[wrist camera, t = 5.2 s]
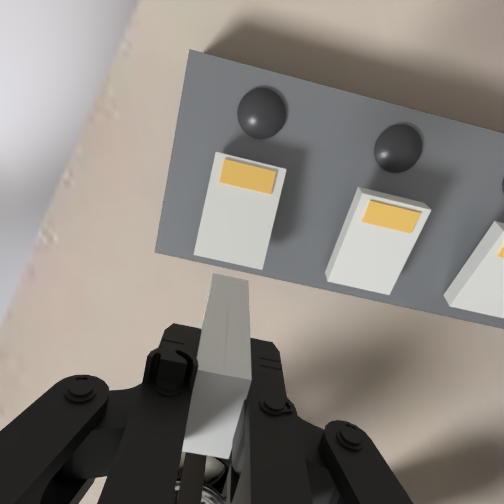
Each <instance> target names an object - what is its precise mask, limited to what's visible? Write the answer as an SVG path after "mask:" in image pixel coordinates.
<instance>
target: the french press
mask: <svg viewBox="0 0 504 504" xmlns="http://www.w3.org/2000/svg"><path fill="white" fill-rule="evenodd" d="M206 456H207V455H201V454H195V453H190V452H186V454H185V460H184V465H183V471H182V476H181V478H177V481H176V487H175V492H174V498H173V504H226V497H227V493H226V497H222V492H223V489H224V485H225V482H226V479H227V475H228V472H229V468H230V465H231V462H232V449H231V453H230V456H229V459H225V458H219V457H215V458H216V459H217V460H219V461H220V462H222V463H223V464H224V465H225V468H224V471H223V472H222V474H221V475H220V476H219V477H218V478H217V479H216V480H214V481H213V482H211V483H209V484H206V483H204V473H205V464H206Z"/></svg>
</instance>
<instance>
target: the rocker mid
mask: <svg viewBox="0 0 504 504" xmlns="http://www.w3.org/2000/svg"><path fill="white" fill-rule="evenodd" d="M430 212H431V209H430V208H429V207H428V206H427V205H426V204H425V203H423V202H419V201H415V200H411V199H407V198H403V197H399V196H395V195H390V194H386V193H382V192H378V191H374V190H370V189H366V188H362V187H358V188H357V191H356V193H355V196H354V198H353V201H352V204H351V206H350V209H349V211H348V214H347V217H346V219H345V222H344V224H343V227H342V229H341V232H340V235H339V237H338V240H337V242H336V245H335V248H334V250H333V253H332V255H331V258H330V260H329V263H328V266H327V268H326V271H325V274H326V278H327V281H328V282H332V283H337V284H341V285H346V286H350V287H355V288H359V289H364V290H368V291H373V292H377V293H382V294H386V295H390V293H391V291H392V289H393V287H394V285H395V283H396V281H397V279H398V277H399V275H400V273H401V271H402V269H403V267H404V264H405V262H406V260H407V258H408V256H409V254H410V252H411V250H412V248H413V246H414V244H415V242H416V240H417V238H418V236H419V234H420V232H421V230H422V228H423V226H424V224H425V222H426V220H427V218H428V216H429V214H430Z"/></svg>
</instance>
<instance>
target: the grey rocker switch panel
mask: <svg viewBox="0 0 504 504" xmlns="http://www.w3.org/2000/svg"><path fill="white" fill-rule="evenodd" d="M216 152H219V153H223V154H227V155H231V156H235V157H239V158H243V159H247V160H251V161H256V162H260V163H264V164H268V165H272V166H276V167H280V168H284V169H287V170H286V174H285V178H284V182H283V186H282V190H281V195H280V199H279V203H278V207H277V211H276V215H275V219H274V224H273V228H272V232H271V236H270V240H269V244H268V248H267V252H266V257H265V261H264V265H263V269H262V270H260V269H256V268H251V267H246V266H242V265H237V264H233V263H228V262H224V261H219V260H215V259H210V258H206V257H201V256H197V255H194V250H195V245H196V241H197V236H198V231H199V227H200V222H201V218H202V213H203V208H204V204H205V199H206V194H207V190H208V185H209V181H210V176H211V171H212V167H213V162H214V157H215V153H216ZM358 187H362V188H366V189H370V190H374V191H378V192H382V193H386V194H390V195H395V196H399V197H403V198H407V199H411V200H415V201H419V202H423V203H425V204H426V205H427V206H428V207H429V208H430V209H431V212H430V214H429V216H428V218H427V220H426V222H425V224H424V226H423V228H422V230H421V232H420V234H419V236H418V238H417V240H416V242H415V244H414V246H413V248H412V250H411V252H410V254H409V256H408V258H407V260H406V262H405V264H404V267H403V269H402V271H401V273H400V275H399V277H398V279H397V281H396V283H395V285H394V287H393V289H392V291H391V293H390V295H386V294H382V293H377V292H373V291H368V290H364V289H359V288H355V287H350V286H346V285H341V284H337V283H332V282H328V281H327V278H326V274H325V271H326V268H327V266H328V263H329V260H330V258H331V255H332V253H333V250H334V248H335V245H336V242H337V240H338V237H339V235H340V232H341V229H342V227H343V224H344V222H345V219H346V217H347V214H348V211H349V209H350V206H351V204H352V201H353V198H354V196H355V193H356V191H357V188H358ZM494 221H497V222H501V223H504V133H501V132H497V131H493V130H490V129H486V128H482V127H478V126H475V125H471V124H467V123H463V122H460V121H456V120H452V119H448V118H445V117H441V116H437V115H433V114H430V113H426V112H422V111H419V110H415V109H411V108H407V107H404V106H400V105H396V104H392V103H389V102H385V101H381V100H377V99H374V98H370V97H366V96H362V95H359V94H355V93H351V92H348V91H344V90H340V89H336V88H333V87H329V86H325V85H321V84H318V83H314V82H310V81H306V80H303V79H299V78H295V77H291V76H288V75H284V74H280V73H276V72H273V71H269V70H265V69H262V68H258V67H254V66H250V65H247V64H243V63H239V62H235V61H232V60H228V59H224V58H220V57H217V56H213V55H209V54H205V53H202V52H198V51H194V50H191V49H190V50H189V55H188V61H187V67H186V73H185V79H184V84H183V90H182V96H181V102H180V108H179V113H178V119H177V125H176V131H175V137H174V143H173V148H172V154H171V160H170V166H169V172H168V177H167V183H166V189H165V195H164V201H163V207H162V212H161V218H160V224H159V230H158V236H157V241H156V247H155V253H159V254H164V255H169V256H173V257H178V258H182V259H187V260H191V261H196V262H201V263H205V264H210V265H214V266H219V267H223V268H228V269H233V270H237V271H242V272H246V273H251V274H255V275H260V276H264V277H269V278H274V279H278V280H283V281H287V282H292V283H296V284H301V285H306V286H310V287H315V288H319V289H324V290H328V291H333V292H338V293H342V294H347V295H351V296H356V297H360V298H365V299H370V300H374V301H379V302H383V303H388V304H392V305H397V306H402V307H406V308H411V309H415V310H420V311H424V312H429V313H434V314H438V315H443V316H447V317H452V318H456V319H461V320H466V321H470V322H475V323H479V324H484V325H488V326H493V327H497V328H502V329H504V318H500V317H495V316H491V315H486V314H482V313H477V312H473V311H468V310H464V309H459V308H455V307H450V306H449V304H448V303H447V301H446V299H445V297H444V294H445V292H446V291H447V289H448V288H449V286H450V285H451V283H452V282H453V281H454V279H455V278H456V276H457V275H458V273H459V272H460V270H461V269H462V268H463V266H464V265H465V263H466V262H467V260H468V259H469V257H470V256H471V254H472V253H473V252H474V250H475V249H476V247H477V246H478V244H479V243H480V241H481V240H482V239H483V237H484V236H485V234H486V233H487V231H488V230H489V228H490V227H491V225H492V224H493V223H494Z"/></svg>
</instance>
